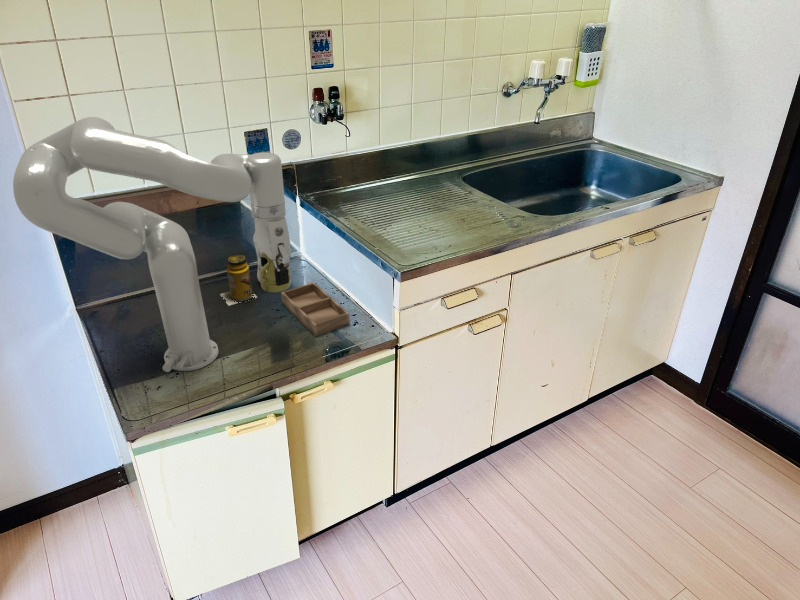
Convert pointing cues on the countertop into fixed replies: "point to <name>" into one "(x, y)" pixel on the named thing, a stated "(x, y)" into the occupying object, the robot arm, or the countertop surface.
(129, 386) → the countertop surface
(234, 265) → the condiment
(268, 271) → the brass weight
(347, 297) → the countertop surface
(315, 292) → the caddy
